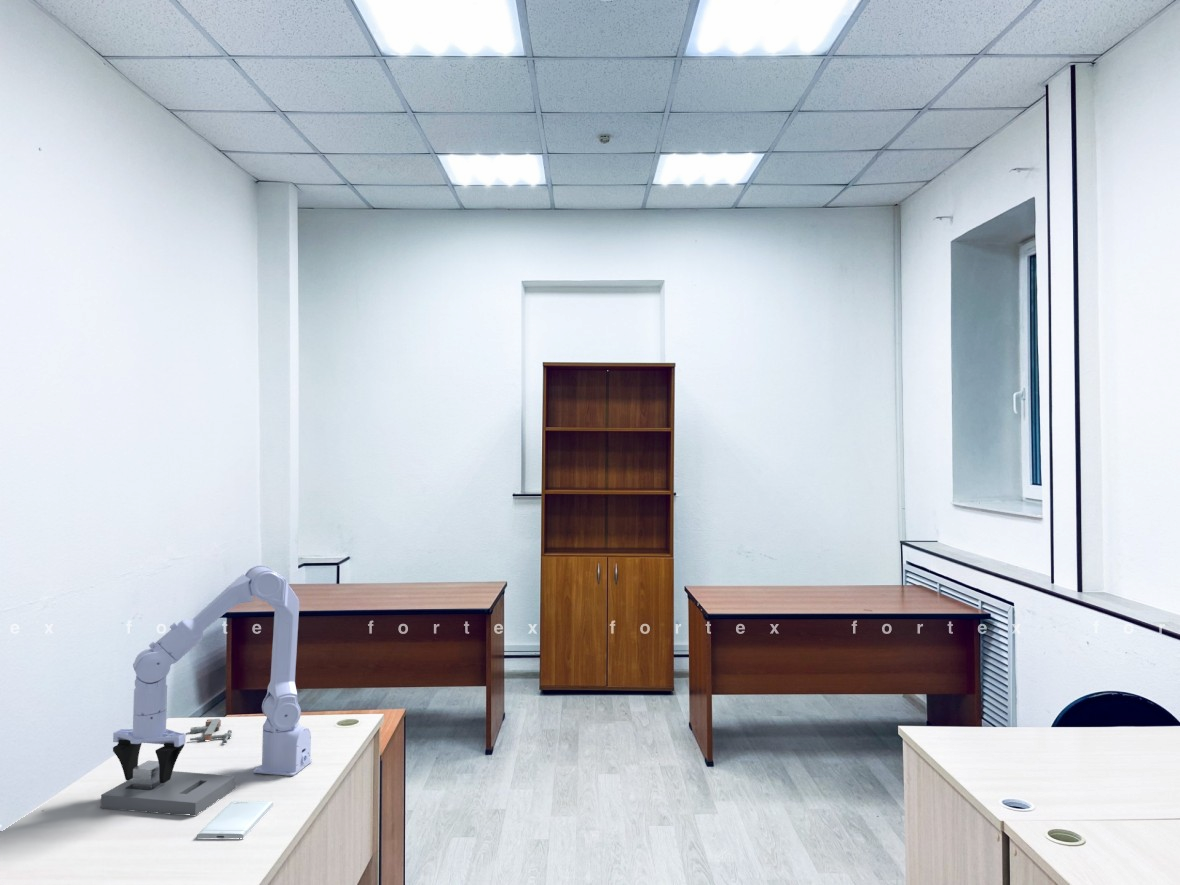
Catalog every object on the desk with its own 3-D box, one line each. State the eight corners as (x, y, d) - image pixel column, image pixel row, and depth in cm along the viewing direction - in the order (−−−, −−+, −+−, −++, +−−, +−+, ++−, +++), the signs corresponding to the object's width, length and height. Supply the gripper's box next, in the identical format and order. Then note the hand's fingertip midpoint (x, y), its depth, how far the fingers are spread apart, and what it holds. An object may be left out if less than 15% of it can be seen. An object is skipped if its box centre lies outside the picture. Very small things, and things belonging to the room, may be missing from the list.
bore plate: (235, 788, 148) (235, 776, 148) (195, 816, 136) (195, 802, 136) (147, 781, 151) (148, 769, 151) (100, 808, 139) (101, 794, 139)
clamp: (194, 720, 182) (238, 716, 185) (194, 728, 182) (237, 724, 185) (180, 741, 168) (227, 737, 171) (180, 751, 168) (227, 746, 171)
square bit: (165, 791, 146) (166, 761, 146) (150, 800, 142) (151, 769, 142) (147, 790, 147) (148, 760, 147) (132, 799, 143) (133, 768, 143)
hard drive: (230, 800, 140) (196, 832, 128) (273, 801, 140) (243, 833, 128) (230, 809, 140) (196, 842, 128) (273, 809, 140) (243, 842, 128)
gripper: (101, 715, 142) (99, 785, 141) (168, 719, 140) (166, 791, 139) (129, 703, 149) (127, 770, 148) (193, 707, 147) (191, 775, 146)
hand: (148, 779), depth 144 cm, fingers open, 7 cm apart
